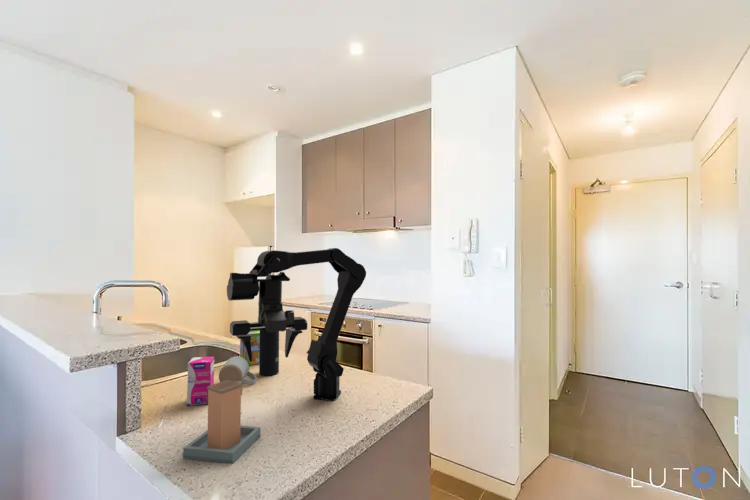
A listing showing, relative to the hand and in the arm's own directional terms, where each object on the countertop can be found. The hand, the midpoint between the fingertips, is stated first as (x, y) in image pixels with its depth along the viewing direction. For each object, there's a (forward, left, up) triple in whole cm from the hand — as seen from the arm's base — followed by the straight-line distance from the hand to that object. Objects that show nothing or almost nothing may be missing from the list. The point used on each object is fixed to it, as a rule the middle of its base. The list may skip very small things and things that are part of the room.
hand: (268, 359), depth 92 cm
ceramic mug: (+19, -17, -13) cm, 29 cm away
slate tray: (0, +18, -13) cm, 22 cm away
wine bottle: (+14, -28, -13) cm, 34 cm away
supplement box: (+21, -2, -13) cm, 25 cm away
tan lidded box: (+1, +18, -12) cm, 22 cm away
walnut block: (+14, -6, -13) cm, 20 cm away
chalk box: (+26, -40, -13) cm, 50 cm away
